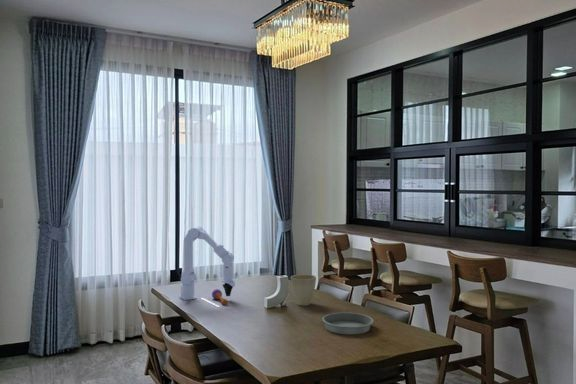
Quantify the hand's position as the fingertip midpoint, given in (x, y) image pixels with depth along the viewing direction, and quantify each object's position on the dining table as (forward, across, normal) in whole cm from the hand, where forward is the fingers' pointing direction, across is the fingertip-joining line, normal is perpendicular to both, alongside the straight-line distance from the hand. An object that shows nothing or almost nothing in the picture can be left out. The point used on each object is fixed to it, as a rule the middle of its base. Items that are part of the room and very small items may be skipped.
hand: (228, 296), depth 292 cm
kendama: (+3, 0, +5) cm, 6 cm away
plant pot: (+2, -33, -32) cm, 46 cm away
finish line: (+2, 0, +12) cm, 12 cm away
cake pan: (+3, -83, -24) cm, 87 cm away
